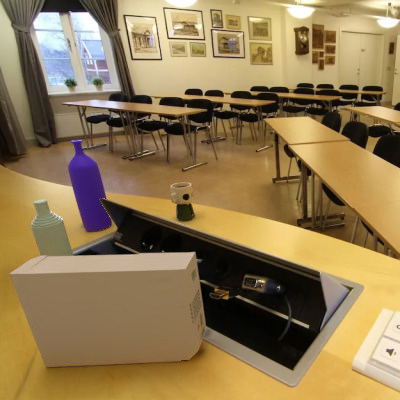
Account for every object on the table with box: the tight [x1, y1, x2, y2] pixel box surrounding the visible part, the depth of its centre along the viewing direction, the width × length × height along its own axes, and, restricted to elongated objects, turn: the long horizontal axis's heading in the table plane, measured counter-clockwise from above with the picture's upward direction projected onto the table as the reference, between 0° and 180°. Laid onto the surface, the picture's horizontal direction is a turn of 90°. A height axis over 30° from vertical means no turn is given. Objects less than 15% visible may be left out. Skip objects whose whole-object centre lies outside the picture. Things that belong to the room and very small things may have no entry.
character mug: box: [169, 181, 196, 221], centre depth 117 cm, size 11×7×13 cm, turn 163°
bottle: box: [67, 139, 112, 232], centre depth 106 cm, size 8×8×30 cm
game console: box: [9, 251, 207, 368], centre depth 58 cm, size 6×27×20 cm, turn 94°
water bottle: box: [30, 198, 75, 256], centre depth 85 cm, size 7×7×19 cm
